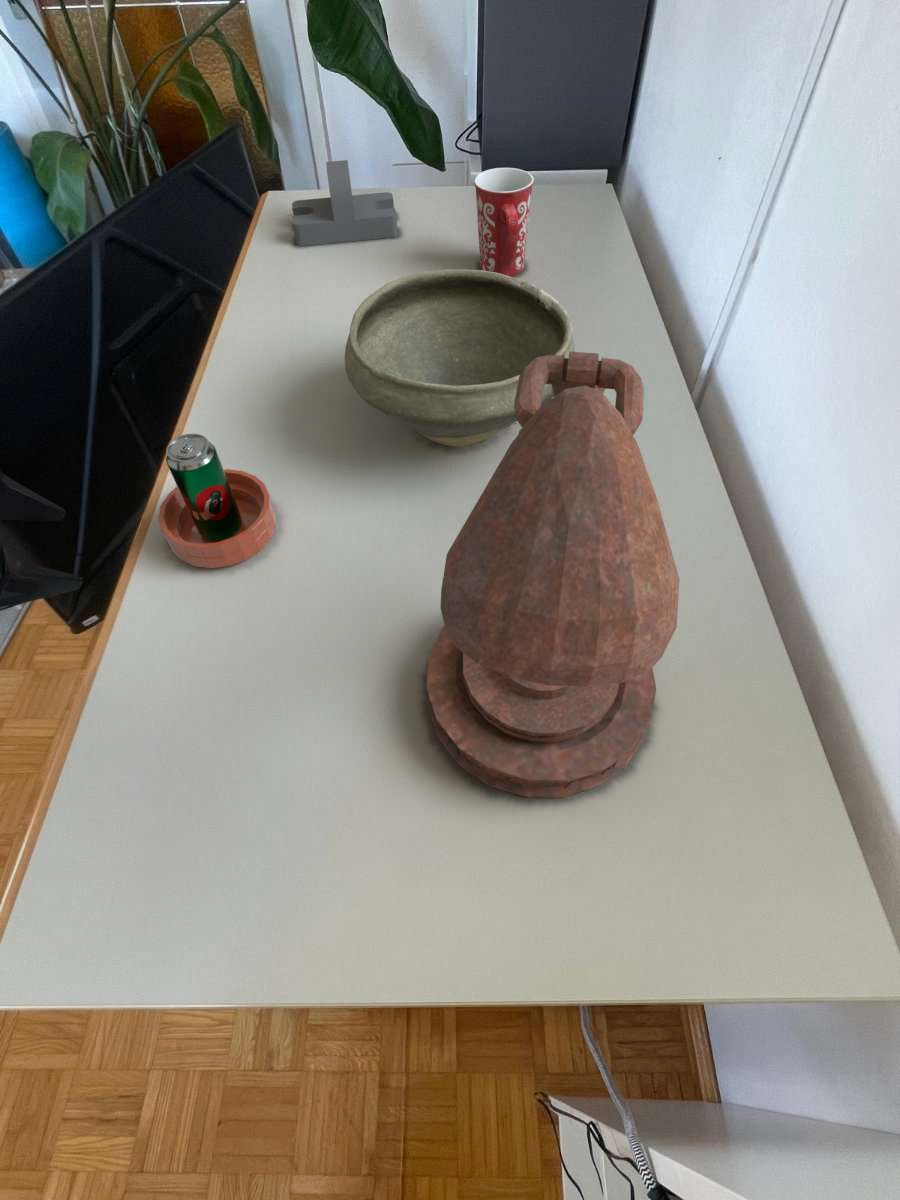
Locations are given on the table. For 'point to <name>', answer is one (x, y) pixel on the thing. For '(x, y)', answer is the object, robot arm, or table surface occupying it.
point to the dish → (230, 551)
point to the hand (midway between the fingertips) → (71, 548)
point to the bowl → (452, 350)
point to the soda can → (204, 486)
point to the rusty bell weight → (557, 592)
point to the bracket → (343, 213)
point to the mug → (503, 218)
